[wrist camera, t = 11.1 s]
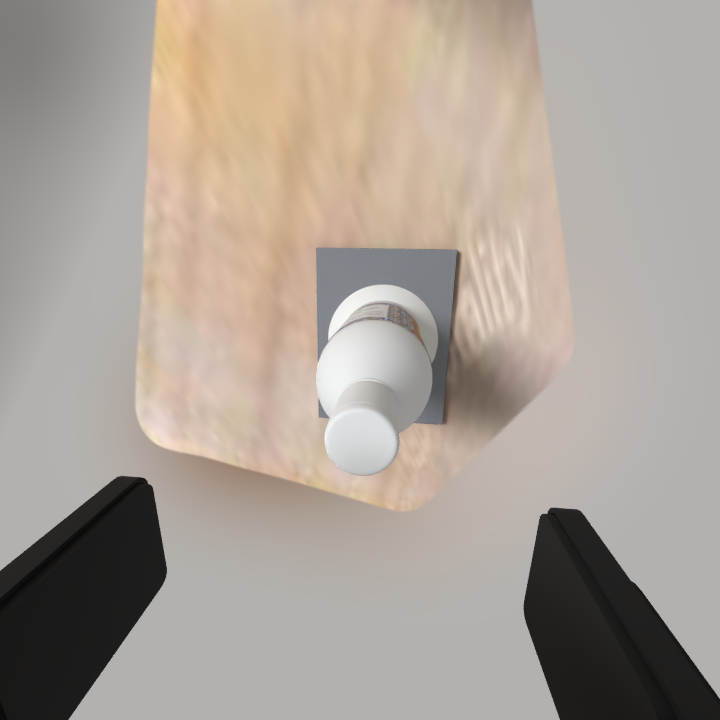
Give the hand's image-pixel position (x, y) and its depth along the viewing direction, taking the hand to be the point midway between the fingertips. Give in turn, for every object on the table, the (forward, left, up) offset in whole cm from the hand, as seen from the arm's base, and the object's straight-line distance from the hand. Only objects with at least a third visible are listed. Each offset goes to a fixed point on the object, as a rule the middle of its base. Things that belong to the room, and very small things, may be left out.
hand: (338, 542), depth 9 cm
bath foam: (0, 0, -26) cm, 25 cm away
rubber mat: (0, 0, -26) cm, 26 cm away
